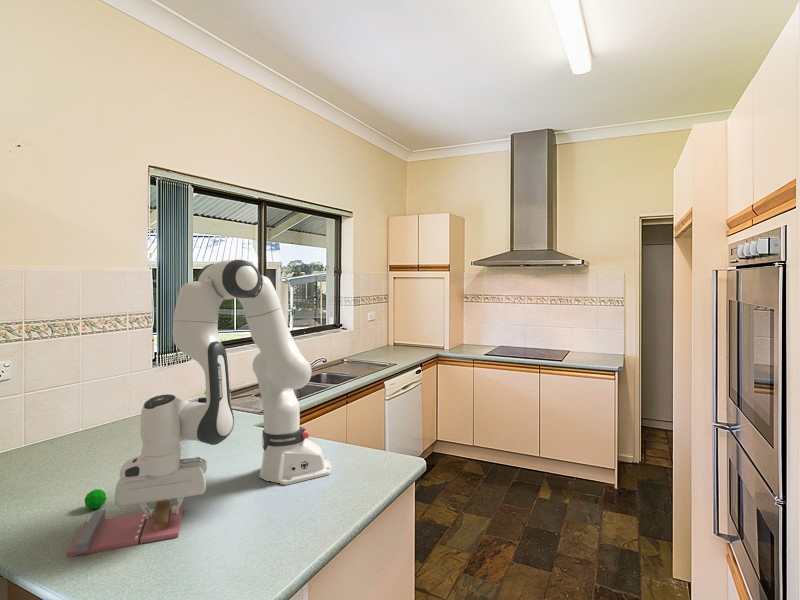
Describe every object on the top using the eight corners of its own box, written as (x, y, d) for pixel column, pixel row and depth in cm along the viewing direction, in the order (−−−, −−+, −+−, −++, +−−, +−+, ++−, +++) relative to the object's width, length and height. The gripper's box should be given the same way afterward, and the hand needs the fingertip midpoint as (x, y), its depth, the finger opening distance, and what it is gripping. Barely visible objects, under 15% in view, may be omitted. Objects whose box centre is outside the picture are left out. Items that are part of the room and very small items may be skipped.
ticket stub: (183, 509, 124) (182, 489, 124) (178, 536, 111) (177, 514, 111) (149, 515, 122) (149, 494, 121) (140, 543, 109) (139, 520, 108)
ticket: (148, 514, 123) (148, 502, 122) (137, 546, 108) (137, 533, 107) (86, 523, 118) (85, 512, 118) (65, 559, 103) (65, 546, 103)
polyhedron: (102, 501, 130) (102, 484, 129) (109, 507, 126) (109, 489, 126) (82, 508, 126) (81, 491, 125) (88, 514, 123) (87, 496, 122)
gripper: (207, 451, 122) (208, 503, 123) (117, 462, 115) (119, 517, 116) (206, 460, 116) (207, 514, 117) (112, 472, 109) (113, 530, 110)
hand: (163, 516), depth 116 cm, fingers open, 4 cm apart
